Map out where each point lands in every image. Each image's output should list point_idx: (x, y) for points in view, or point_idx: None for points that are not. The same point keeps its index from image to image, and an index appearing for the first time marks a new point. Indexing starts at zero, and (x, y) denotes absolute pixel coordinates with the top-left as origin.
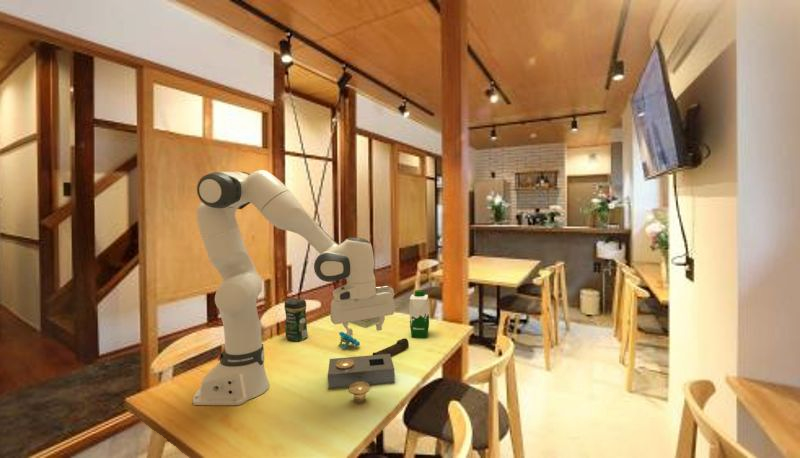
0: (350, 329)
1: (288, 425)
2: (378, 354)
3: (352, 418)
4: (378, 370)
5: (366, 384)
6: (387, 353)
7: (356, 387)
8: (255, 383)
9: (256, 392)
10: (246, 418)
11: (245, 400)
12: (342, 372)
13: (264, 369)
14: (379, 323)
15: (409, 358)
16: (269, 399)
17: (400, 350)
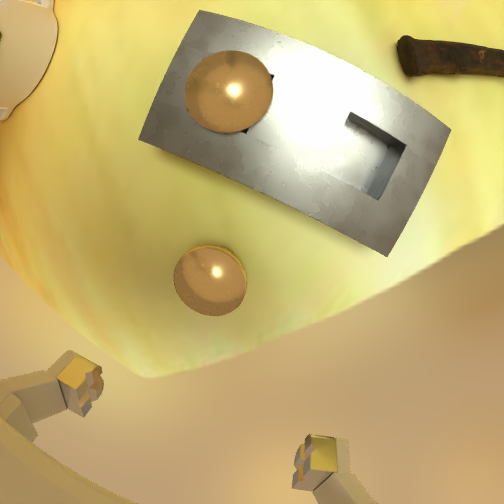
0: (70, 399)
1: (58, 250)
2: (420, 65)
3: (174, 316)
4: (331, 226)
5: (236, 286)
6: (455, 71)
7: (198, 281)
8: (5, 90)
9: (20, 95)
10: (9, 177)
11: (9, 112)
12: (191, 153)
13: (15, 48)
14: (325, 489)
15: (497, 132)
16: (40, 119)
17: (498, 75)
